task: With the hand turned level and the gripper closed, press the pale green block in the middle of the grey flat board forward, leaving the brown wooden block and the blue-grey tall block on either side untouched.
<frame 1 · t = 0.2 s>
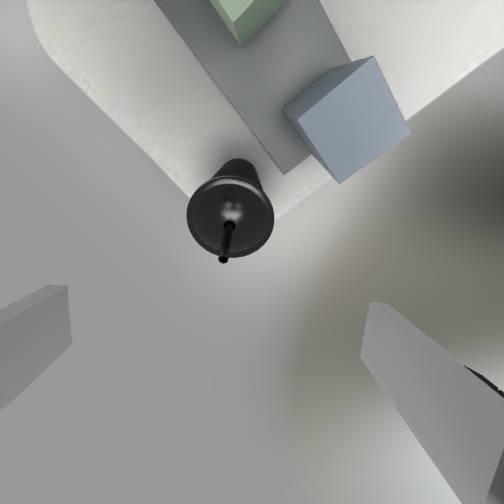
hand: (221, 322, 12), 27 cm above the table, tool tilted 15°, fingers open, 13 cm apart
drinking cup: (238, 177, 36), on the table
blue-grey tall block: (334, 119, 25), point 8 cm above the table, slide at 0.0 cm
grey flat board: (237, 5, 27), on the table
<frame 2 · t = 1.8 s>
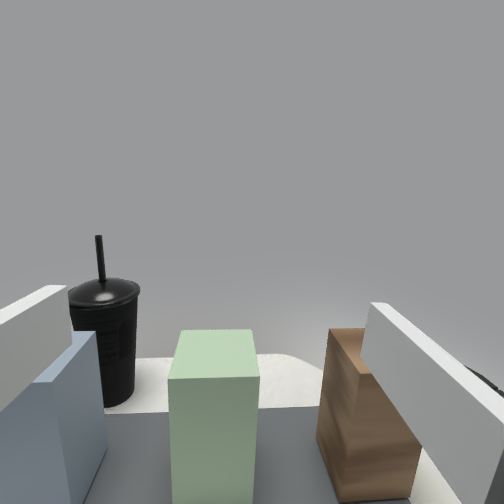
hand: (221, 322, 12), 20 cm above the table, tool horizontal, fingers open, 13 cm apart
pale green block: (215, 415, 23), point 8 cm above the table, slide at 0.0 cm
drinking cup: (113, 393, 35), on the table
brown wooden block: (367, 409, 24), point 8 cm above the table, slide at 0.0 cm
blue-grey tall block: (44, 422, 21), point 8 cm above the table, slide at 0.0 cm
grey flat board: (214, 476, 25), on the table
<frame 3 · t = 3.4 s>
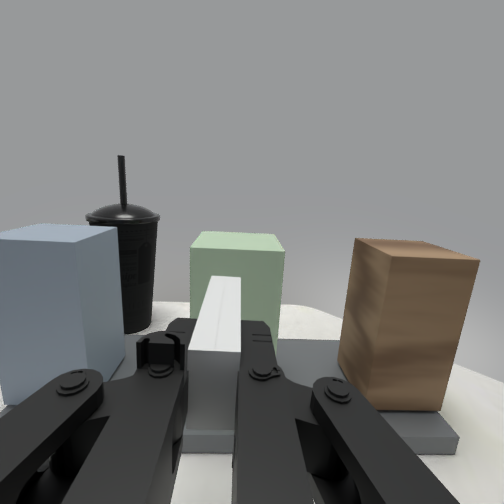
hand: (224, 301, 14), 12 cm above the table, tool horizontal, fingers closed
pale green block: (235, 314, 22), point 8 cm above the table, slide at 0.0 cm
drinking cup: (130, 325, 35), on the table
brown wooden block: (395, 319, 22), point 8 cm above the table, slide at 0.0 cm
blue-grey tall block: (64, 309, 21), point 8 cm above the table, slide at 0.0 cm
grey flat board: (231, 389, 25), on the table
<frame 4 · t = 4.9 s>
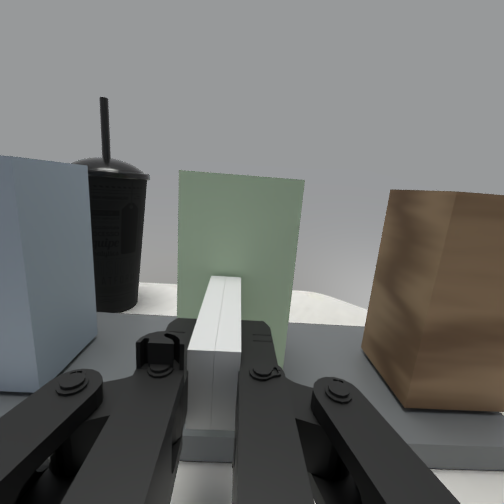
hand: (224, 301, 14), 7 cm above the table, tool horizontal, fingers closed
pale green block: (236, 275, 17), point 8 cm above the table, slide at 0.8 cm, touching gripper
drinking cup: (113, 305, 30), on the table
brown wooden block: (443, 291, 17), point 8 cm above the table, slide at 0.0 cm
blue-grey tall block: (13, 265, 16), point 8 cm above the table, slide at 0.0 cm
grey flat board: (229, 379, 20), on the table
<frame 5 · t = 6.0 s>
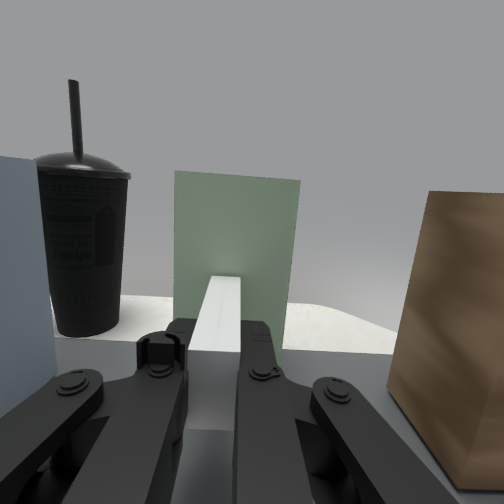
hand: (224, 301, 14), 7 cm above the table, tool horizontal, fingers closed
pale green block: (233, 275, 17), point 8 cm above the table, slide at 5.0 cm, touching gripper
drinking cup: (90, 325, 26), on the table
brown wooden block: (502, 326, 13), point 8 cm above the table, slide at 0.0 cm
grey flat board: (222, 431, 15), on the table
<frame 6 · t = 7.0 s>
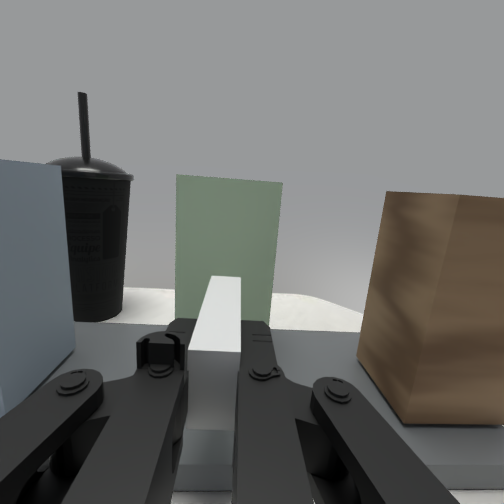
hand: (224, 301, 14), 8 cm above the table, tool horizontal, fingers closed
pale green block: (226, 265, 20), point 8 cm above the table, slide at 4.5 cm
drinking cup: (95, 313, 28), on the table
brown wooden block: (442, 298, 17), point 8 cm above the table, slide at 0.0 cm
grey flat board: (218, 393, 18), on the table
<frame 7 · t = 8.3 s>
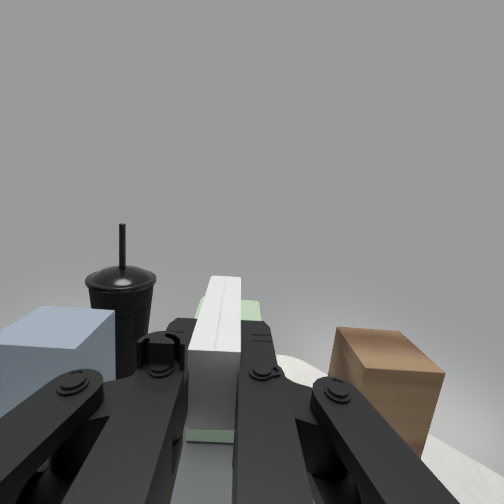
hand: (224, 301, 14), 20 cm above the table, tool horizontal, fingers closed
pale green block: (224, 366, 28), point 8 cm above the table, slide at 4.5 cm
drinking cup: (122, 378, 36), on the table
brown wooden block: (370, 408, 24), point 8 cm above the table, slide at 0.0 cm
blue-grey tall block: (61, 391, 23), point 8 cm above the table, slide at 0.0 cm
grey flat board: (215, 462, 26), on the table
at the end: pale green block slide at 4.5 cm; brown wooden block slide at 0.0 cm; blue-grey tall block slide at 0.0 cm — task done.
